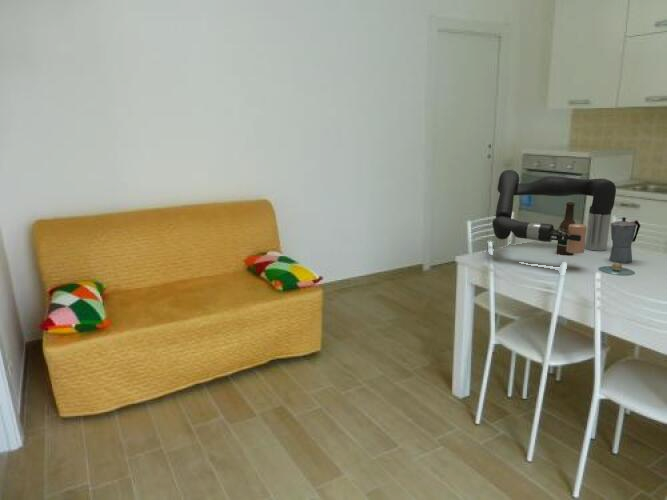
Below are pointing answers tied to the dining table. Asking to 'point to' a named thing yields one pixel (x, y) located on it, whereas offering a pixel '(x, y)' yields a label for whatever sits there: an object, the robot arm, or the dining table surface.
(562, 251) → the beer bottle
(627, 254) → the moka pot
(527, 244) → the dining table surface
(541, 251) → the dining table surface
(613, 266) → the ball
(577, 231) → the cup
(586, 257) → the dining table surface
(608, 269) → the plate
